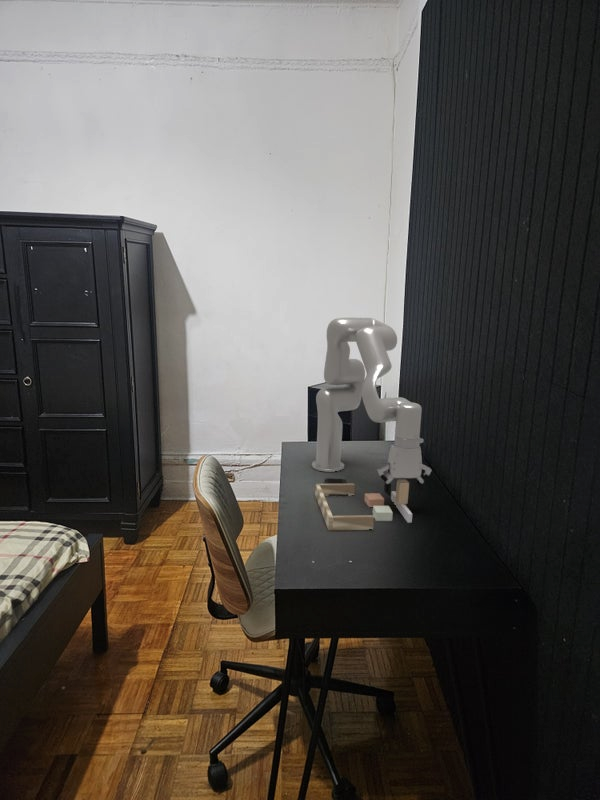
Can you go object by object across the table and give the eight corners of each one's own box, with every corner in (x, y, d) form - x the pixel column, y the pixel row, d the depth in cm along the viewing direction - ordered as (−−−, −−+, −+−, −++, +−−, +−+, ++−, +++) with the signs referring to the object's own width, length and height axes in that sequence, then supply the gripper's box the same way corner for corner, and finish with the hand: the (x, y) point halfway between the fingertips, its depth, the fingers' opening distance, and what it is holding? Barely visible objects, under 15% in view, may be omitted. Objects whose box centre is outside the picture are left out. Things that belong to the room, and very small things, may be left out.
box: (315, 495, 180) (315, 483, 179) (353, 494, 182) (354, 483, 181) (328, 530, 155) (329, 517, 154) (373, 529, 156) (373, 516, 156)
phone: (345, 479, 194) (348, 495, 179) (345, 482, 194) (348, 498, 180) (324, 478, 194) (325, 494, 180) (324, 481, 194) (325, 497, 180)
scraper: (388, 499, 179) (390, 471, 177) (396, 499, 180) (399, 471, 178) (404, 523, 162) (407, 492, 160) (414, 523, 162) (417, 492, 160)
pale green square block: (372, 514, 167) (373, 505, 167) (388, 514, 168) (388, 505, 167) (375, 521, 162) (376, 512, 162) (391, 521, 163) (392, 512, 162)
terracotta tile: (364, 502, 177) (364, 493, 176) (378, 501, 178) (379, 493, 177) (368, 508, 172) (369, 499, 171) (383, 507, 173) (384, 499, 172)
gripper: (429, 438, 171) (424, 489, 174) (376, 438, 168) (373, 490, 172) (437, 445, 163) (433, 498, 167) (382, 445, 161) (379, 499, 165)
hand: (402, 494), depth 169 cm, fingers open, 9 cm apart
